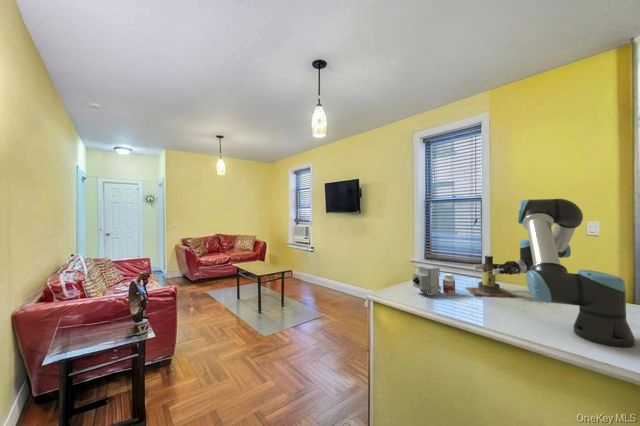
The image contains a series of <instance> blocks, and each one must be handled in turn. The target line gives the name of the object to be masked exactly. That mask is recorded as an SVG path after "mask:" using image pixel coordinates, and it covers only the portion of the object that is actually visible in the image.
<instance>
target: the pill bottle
mask: <svg viewBox="0 0 640 426" xmlns="http://www.w3.org/2000/svg"><path fill="white" fill-rule="evenodd" d="M443 276H444V278H442V288H443V289H442V290H443V291H442V292H443V295H446V294H448V295H447V296H455V295H456V280H455V278H454V274H452V273H444V274H443Z"/></svg>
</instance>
